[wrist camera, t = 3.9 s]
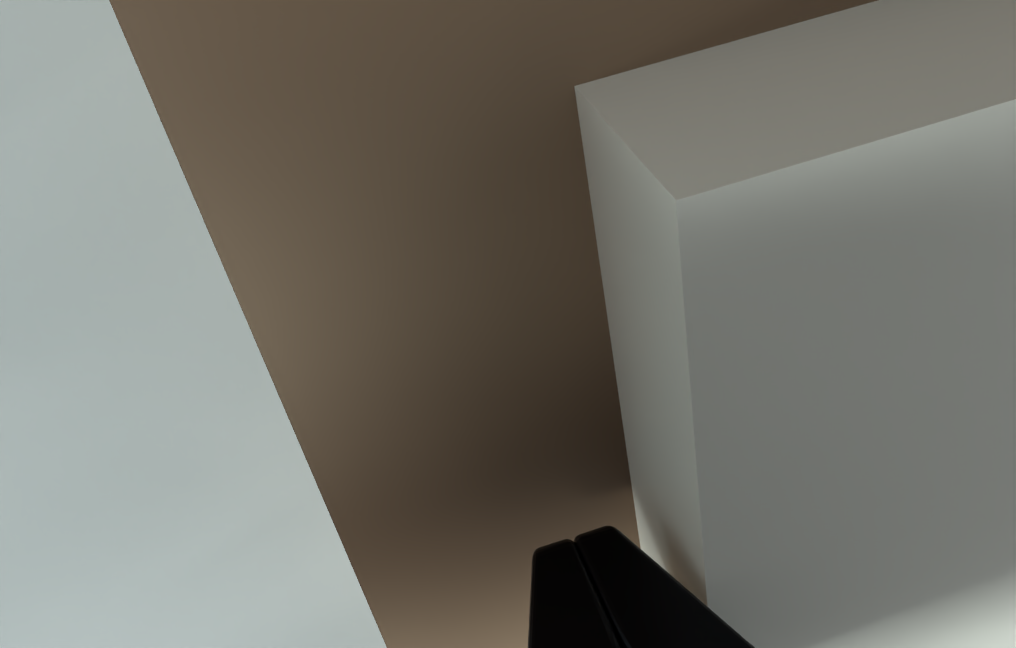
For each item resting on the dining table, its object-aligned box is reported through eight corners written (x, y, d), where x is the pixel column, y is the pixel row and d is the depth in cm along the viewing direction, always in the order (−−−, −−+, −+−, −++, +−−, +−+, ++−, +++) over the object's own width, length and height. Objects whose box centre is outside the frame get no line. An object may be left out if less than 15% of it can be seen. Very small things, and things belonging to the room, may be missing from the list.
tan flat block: (1054, 543, 21) (1206, 697, 17) (468, 743, 19) (517, 952, 16) (1589, -1154, 7) (2600, -1780, 4) (-158, -929, 6) (-589, -1629, 3)
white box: (1051, 560, 13) (1166, 681, 11) (661, 698, 12) (725, 845, 11) (1248, -104, 8) (1518, -53, 6) (574, 86, 7) (675, 201, 5)
